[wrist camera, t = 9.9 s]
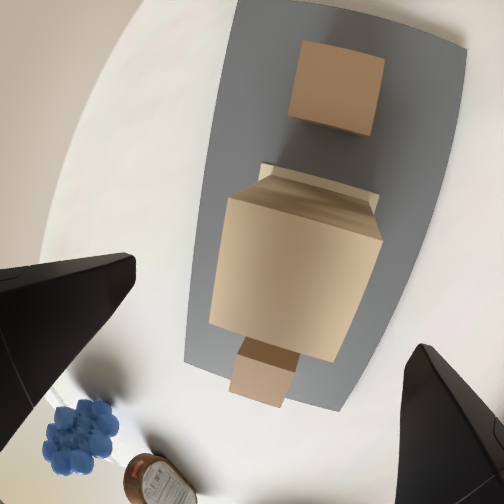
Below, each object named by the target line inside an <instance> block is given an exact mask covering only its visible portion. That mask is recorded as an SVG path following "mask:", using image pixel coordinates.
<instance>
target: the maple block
mask: <svg viewBox="0 0 504 504" xmlns="http://www.w3.org/2000/svg"><path fill="white" fill-rule="evenodd" d="M382 243H383V240H382V237H381V234H380V231H379V228H378V225H377V223H376V220H375V217H374V215H373V212H372V209H371V207H370V204H369V202H368V201H365V200H362V199H358V198H355V197H352V196H348V195H345V194H342V193H338V192H335V191H331V190H328V189H324V188H320V187H317V186H313V185H309V184H306V183H302V182H298V181H294V180H290V179H286V178H283V177H279V176H274V175H269V176H267V177H265V178H263V179H261V180H259V181H258V182H256V183H254V184H252V185H250V186H248V187H246V188H245V189H243V190H241V191H239V192H237V193H235V194H234V195H232V196H230V197H228V201H227V207H226V213H225V219H224V225H223V231H222V238H221V244H220V250H219V257H218V263H217V270H216V276H215V283H214V290H213V296H212V303H211V310H210V317H209V323H210V324H213V325H215V326H218V327H221V328H224V329H227V330H229V331H232V332H235V333H238V334H241V335H244V336H247V337H250V338H253V339H256V340H259V341H262V342H265V343H268V344H272V345H275V346H278V347H281V348H284V349H288V350H291V351H294V352H298V353H301V354H304V355H308V356H311V357H315V358H318V359H322V360H325V361H329V362H332V363H333V362H334V360H335V358H336V356H337V353H338V351H339V349H340V347H341V345H342V343H343V340H344V338H345V336H346V334H347V332H348V329H349V327H350V325H351V322H352V320H353V318H354V315H355V313H356V311H357V308H358V306H359V304H360V301H361V299H362V296H363V294H364V291H365V289H366V286H367V284H368V281H369V278H370V276H371V273H372V271H373V268H374V265H375V262H376V260H377V257H378V254H379V251H380V249H381V246H382Z"/></svg>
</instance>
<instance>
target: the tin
mask: <svg viewBox="0 0 504 504" xmlns="http://www.w3.org/2000/svg"><path fill="white" fill-rule="evenodd" d="M123 485H124V491H125V494H126V496H127V498H128V500H129V501H130V502H131V503H132V504H197V496H196V493H195V491H194V489H193V488H192V487H191V486H190V484H189V483H188V482H187V481H186V480H185V479H184V478H183V477H182V475H181V474H180V473H179V472H178V471H177V470H176V468H175V467H174V466H173V465H172V464H171V462H170V461H169V460H167V459H166V458H164V457H160V456H155V455H152V454H148V453H142V454H139V455H137V456H135V457H134V458H133V459H132V460H131V461H130V462H129V464H128V466H127V468H126V470H125V474H124V480H123Z"/></svg>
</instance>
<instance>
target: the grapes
mask: <svg viewBox="0 0 504 504" xmlns="http://www.w3.org/2000/svg"><path fill="white" fill-rule="evenodd" d="M54 421H55V423H52V424H48V427H47V431H46V436H47V439H48V441H44V444H43V449H42V452H43V456H44V459H46V460H47V461H48V462H50V463H51V467H52V469H53V471H54V472H55V473H56V474H57V475H60V476H68V475H70V474H72V473H73V471H74V472H75V473H77V474H80V475H86V474H89V473H91V472H92V470H93V467H94V459H93V457H92V455H93V456H94V457H95V458H100V459H103V458H107V457H109V456H110V454H111V452H112V442H111V440H110V438H109V437H113V436H115V435H116V434H117V433H118V430H119V422H118V420H117V418H116V417H115V416H114V415H112V409H111V407H110V405H109V404H108V403H107V402H105V401H94V402H92V401H91V400H87V399H81V400H79V401H78V403H77V407H76V410H74V409H71V408H69V407H65V406H64V407H57V408H56V411H55V415H54Z"/></svg>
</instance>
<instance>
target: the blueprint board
mask: <svg viewBox="0 0 504 504" xmlns="http://www.w3.org/2000/svg"><path fill="white" fill-rule="evenodd" d="M466 57H467V49H465V48H462V47H460V46H458V45H456V44H453V43H451V42H449V41H446V40H444V39H442V38H439V37H437V36H434V35H431V34H429V33H426V32H423V31H421V30H418V29H415V28H412V27H409V26H406V25H403V24H400V23H397V22H393V21H390V20H387V19H383V18H380V17H376V16H372V15H368V14H364V13H360V12H356V11H351V10H347V9H342V8H337V7H331V6H326V5H320V4H313V3H306V2H299V1H290V0H238V2H237V7H236V11H235V15H234V19H233V23H232V28H231V32H230V37H229V41H228V46H227V50H226V55H225V60H224V65H223V69H222V74H221V79H220V85H219V90H218V95H217V100H216V106H215V111H214V117H213V122H212V128H211V134H210V140H209V146H208V152H207V159H206V165H205V171H204V178H203V185H202V192H201V199H200V206H199V214H198V222H197V229H196V238H195V246H194V255H193V264H192V273H191V283H190V293H189V303H188V314H187V326H186V339H185V353H184V362H186V363H188V364H190V365H193V366H195V367H198V368H201V369H203V370H206V371H208V372H211V373H214V374H216V375H219V376H222V377H224V378H227V379H230V380H231V382H230V387H229V391H230V392H232V393H235V394H238V395H241V396H244V397H247V398H250V399H253V400H256V401H259V402H262V403H265V404H268V405H272V406H275V407H278V408H280V407H281V405H282V403H283V400H284V398H289V399H292V400H295V401H299V402H303V403H306V404H310V405H314V406H318V407H321V408H325V409H329V410H333V411H338V412H339V411H340V410H341V408H342V407H343V405H344V403H345V402H346V400H347V398H348V397H349V395H350V394H351V392H352V390H353V389H354V387H355V385H356V383H357V382H358V380H359V378H360V376H361V375H362V373H363V371H364V369H365V368H366V366H367V364H368V362H369V360H370V358H371V357H372V355H373V353H374V351H375V349H376V347H377V345H378V343H379V341H380V339H381V337H382V335H383V333H384V331H385V329H386V327H387V325H388V323H389V321H390V319H391V317H392V315H393V313H394V311H395V309H396V306H397V304H398V302H399V300H400V298H401V295H402V293H403V291H404V288H405V286H406V284H407V281H408V279H409V277H410V274H411V272H412V269H413V267H414V264H415V262H416V259H417V257H418V254H419V251H420V249H421V246H422V243H423V241H424V238H425V235H426V232H427V229H428V227H429V224H430V221H431V218H432V215H433V212H434V208H435V205H436V202H437V199H438V196H439V192H440V189H441V185H442V182H443V178H444V175H445V171H446V167H447V163H448V159H449V155H450V151H451V147H452V143H453V138H454V133H455V129H456V124H457V119H458V113H459V108H460V102H461V96H462V89H463V82H464V75H465V66H466ZM269 175H274V176H279V177H283V178H286V179H290V180H294V181H298V182H302V183H306V184H309V185H313V186H317V187H320V188H324V189H328V190H331V191H335V192H338V193H342V194H345V195H348V196H352V197H355V198H358V199H362V200H365V201H368V202H369V204H370V207H371V209H372V212H373V215H374V217H375V220H376V223H377V225H378V228H379V231H380V234H381V237H382V240H383V243H382V246H381V249H380V251H379V254H378V257H377V260H376V262H375V265H374V268H373V271H372V273H371V276H370V278H369V281H368V284H367V286H366V289H365V291H364V294H363V296H362V299H361V301H360V304H359V306H358V308H357V311H356V313H355V315H354V318H353V320H352V322H351V325H350V327H349V329H348V332H347V334H346V336H345V338H344V340H343V343H342V345H341V347H340V349H339V351H338V353H337V356H336V358H335V360H334V362H333V363H332V362H329V361H325V360H322V359H318V358H315V357H311V356H308V355H304V354H301V353H298V352H294V351H291V350H288V349H284V348H281V347H278V346H275V345H272V344H268V343H265V342H262V341H259V340H256V339H253V338H250V337H247V336H244V335H241V334H238V333H235V332H232V331H229V330H227V329H224V328H221V327H218V326H215V325H213V324H210V323H209V317H210V310H211V303H212V296H213V290H214V283H215V276H216V270H217V263H218V257H219V250H220V244H221V238H222V231H223V225H224V219H225V213H226V207H227V201H228V197H230V196H232V195H234V194H235V193H237V192H239V191H241V190H243V189H245V188H246V187H248V186H250V185H252V184H254V183H256V182H258V181H259V180H261V179H263V178H265V177H267V176H269Z"/></svg>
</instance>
